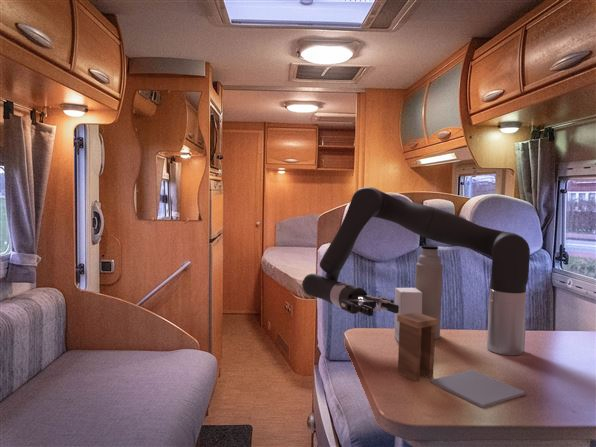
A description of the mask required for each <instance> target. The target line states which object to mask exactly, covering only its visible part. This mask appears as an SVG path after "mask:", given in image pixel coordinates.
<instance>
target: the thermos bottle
mask: <svg viewBox="0 0 596 447" xmlns="http://www.w3.org/2000/svg"><path fill="white" fill-rule="evenodd" d="M441 261H442V258H441V256H439V246H437V245H430V244H427V245H421V254H420V255H418V259H417V262H416V263H415V279H414V288H416V289H418V290H419V291H420V292H422V314H423V315H426V316H430V317H433V318H436V319H438V325H435V340H437V339H439V338H440V337H441V320H442V319H441V317H442V316H441V314H442V297H443V296H442V294H443V292H442V291H443V274H444V272H443V270H444V265H443V264H442V263H441Z"/></svg>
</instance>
